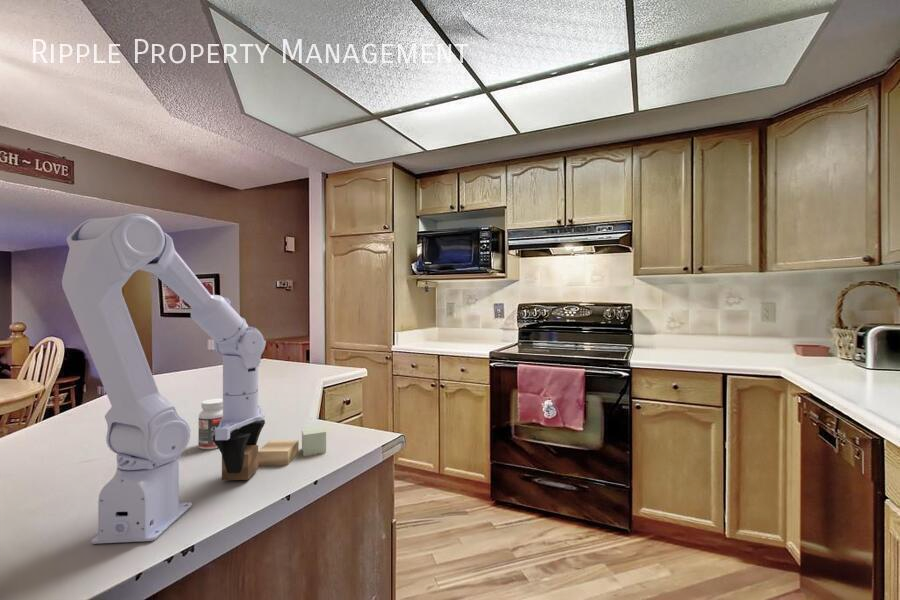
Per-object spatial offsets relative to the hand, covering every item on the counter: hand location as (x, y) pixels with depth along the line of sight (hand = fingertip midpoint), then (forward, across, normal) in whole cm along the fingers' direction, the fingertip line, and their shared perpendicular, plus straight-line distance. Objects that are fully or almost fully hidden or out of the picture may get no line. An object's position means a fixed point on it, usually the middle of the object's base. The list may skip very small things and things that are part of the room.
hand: (240, 466), depth 73 cm
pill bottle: (+2, +17, +13) cm, 22 cm away
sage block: (+2, +12, -10) cm, 16 cm away
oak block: (+2, +8, -4) cm, 9 cm away
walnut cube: (+1, 0, 0) cm, 1 cm away
